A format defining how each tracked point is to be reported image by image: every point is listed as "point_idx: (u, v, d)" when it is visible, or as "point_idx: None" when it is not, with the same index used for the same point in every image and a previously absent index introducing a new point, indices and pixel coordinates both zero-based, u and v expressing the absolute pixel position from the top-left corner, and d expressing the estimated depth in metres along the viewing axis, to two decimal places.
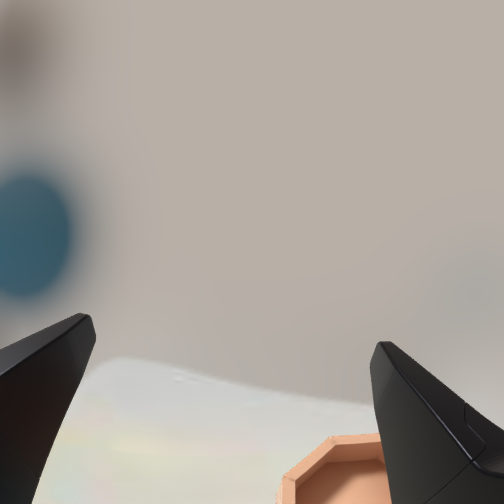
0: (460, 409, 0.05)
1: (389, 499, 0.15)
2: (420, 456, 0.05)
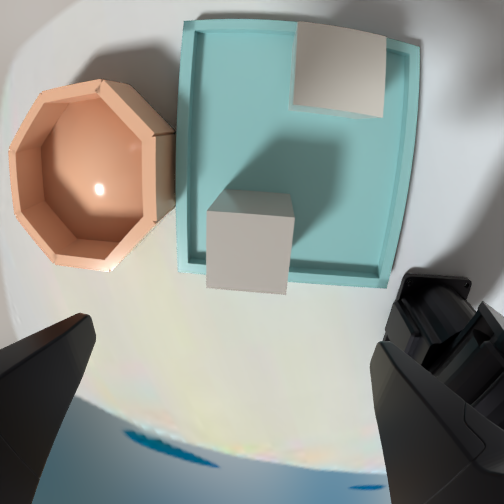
0: (460, 409, 0.05)
1: (82, 135, 0.18)
2: (420, 456, 0.05)
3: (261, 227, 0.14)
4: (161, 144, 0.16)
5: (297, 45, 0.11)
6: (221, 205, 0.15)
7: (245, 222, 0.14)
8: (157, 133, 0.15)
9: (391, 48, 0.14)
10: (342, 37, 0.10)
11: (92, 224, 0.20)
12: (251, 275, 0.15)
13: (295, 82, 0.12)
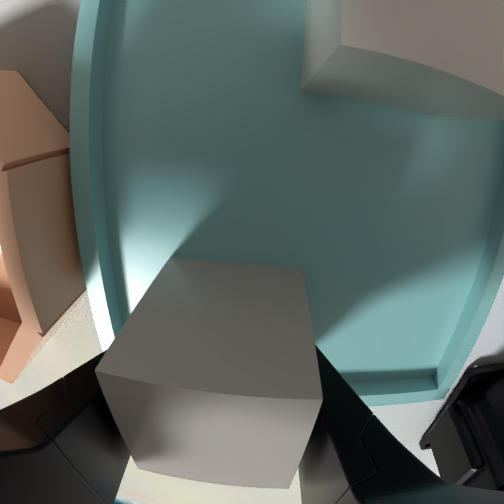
0: (362, 422, 0.05)
1: None
2: (317, 467, 0.05)
3: (233, 415, 0.05)
4: (30, 182, 0.06)
5: None
6: (139, 338, 0.06)
7: (191, 404, 0.05)
8: (17, 161, 0.06)
9: None
10: None
11: None
12: (219, 470, 0.06)
13: None
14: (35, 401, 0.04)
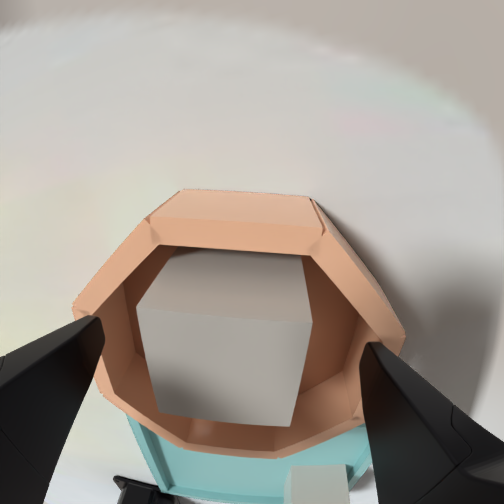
0: (447, 411, 0.05)
1: None
2: (406, 458, 0.05)
3: (244, 339, 0.07)
4: None
5: None
6: (169, 286, 0.08)
7: (212, 330, 0.07)
8: None
9: None
10: None
11: None
12: (230, 404, 0.08)
13: None
14: None
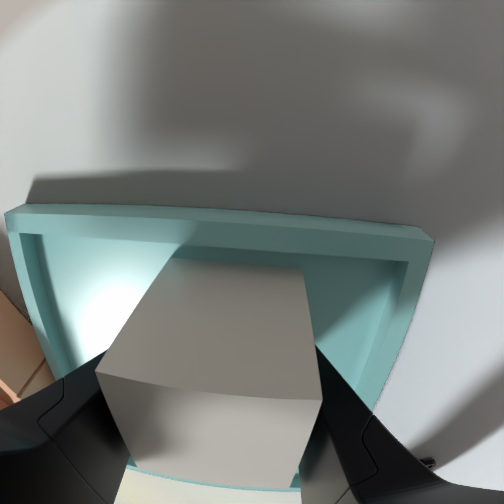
0: (362, 422, 0.05)
1: None
2: (317, 467, 0.05)
3: None
4: (33, 392, 0.10)
5: (112, 411, 0.05)
6: None
7: None
8: (22, 387, 0.09)
9: (372, 257, 0.08)
10: (200, 411, 0.05)
11: None
12: None
13: (131, 451, 0.06)
14: (35, 401, 0.04)
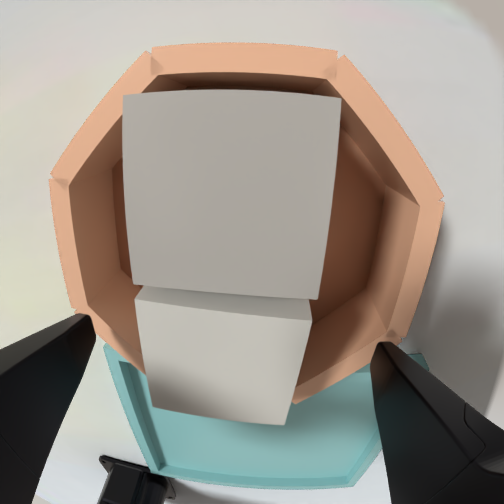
0: (460, 409, 0.05)
1: None
2: (420, 456, 0.05)
3: (256, 123, 0.05)
4: None
5: (141, 340, 0.07)
6: None
7: (214, 112, 0.05)
8: None
9: (352, 478, 0.18)
10: (217, 331, 0.07)
11: None
12: (233, 253, 0.06)
13: (150, 385, 0.08)
14: None
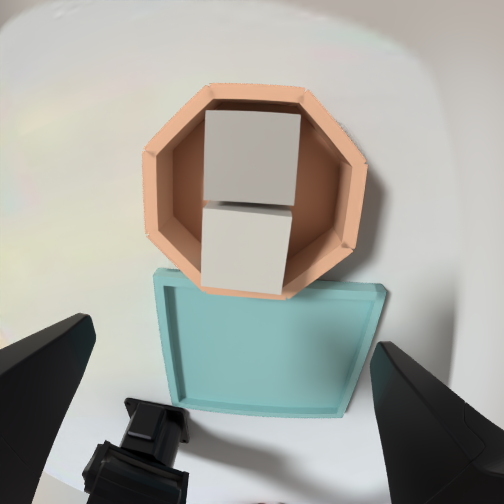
0: (460, 409, 0.05)
1: (297, 175, 0.18)
2: (420, 456, 0.05)
3: (265, 125, 0.12)
4: None
5: (202, 233, 0.14)
6: None
7: (247, 120, 0.12)
8: None
9: (340, 406, 0.25)
10: (245, 224, 0.14)
11: (191, 177, 0.18)
12: (254, 182, 0.13)
13: (202, 267, 0.15)
14: None
